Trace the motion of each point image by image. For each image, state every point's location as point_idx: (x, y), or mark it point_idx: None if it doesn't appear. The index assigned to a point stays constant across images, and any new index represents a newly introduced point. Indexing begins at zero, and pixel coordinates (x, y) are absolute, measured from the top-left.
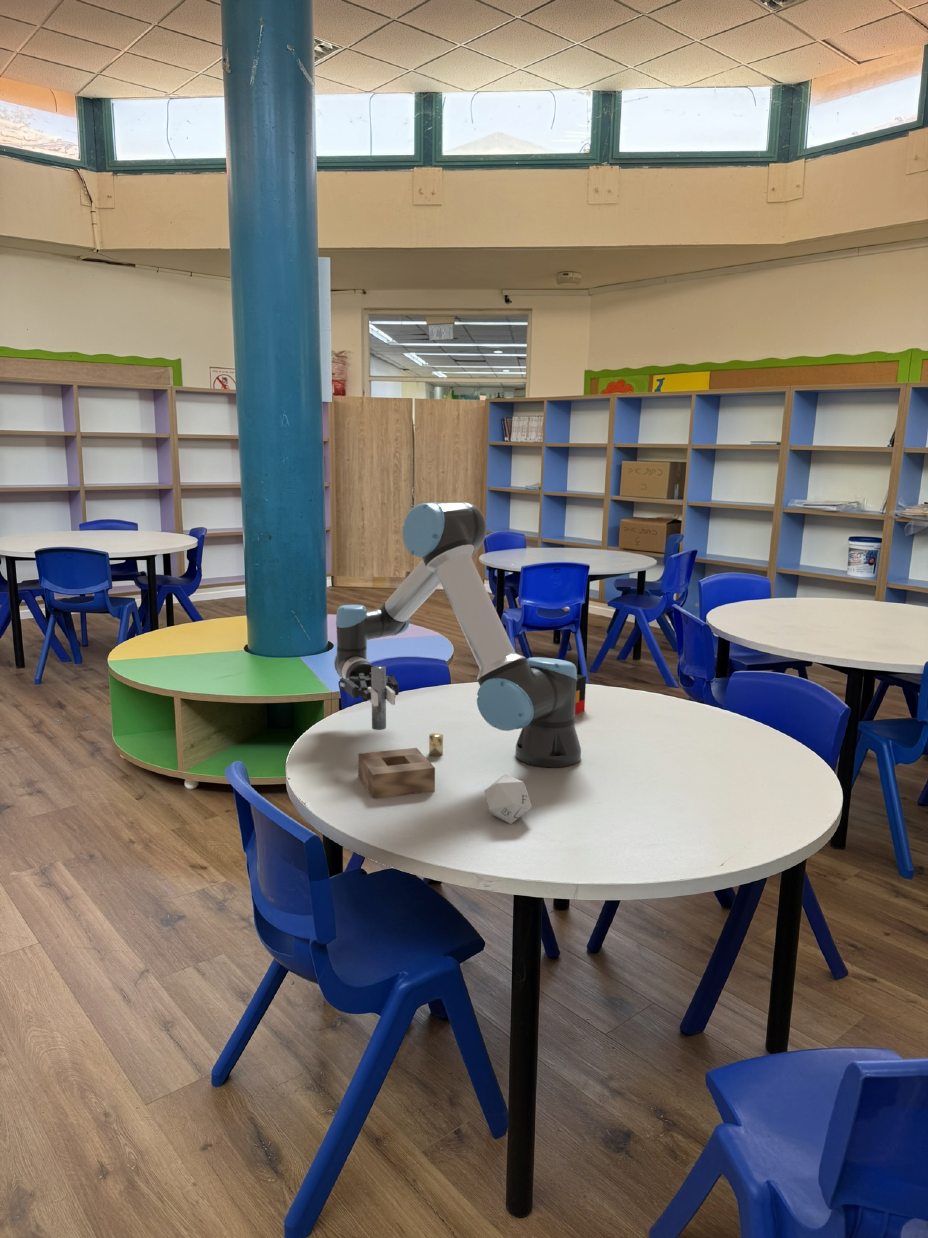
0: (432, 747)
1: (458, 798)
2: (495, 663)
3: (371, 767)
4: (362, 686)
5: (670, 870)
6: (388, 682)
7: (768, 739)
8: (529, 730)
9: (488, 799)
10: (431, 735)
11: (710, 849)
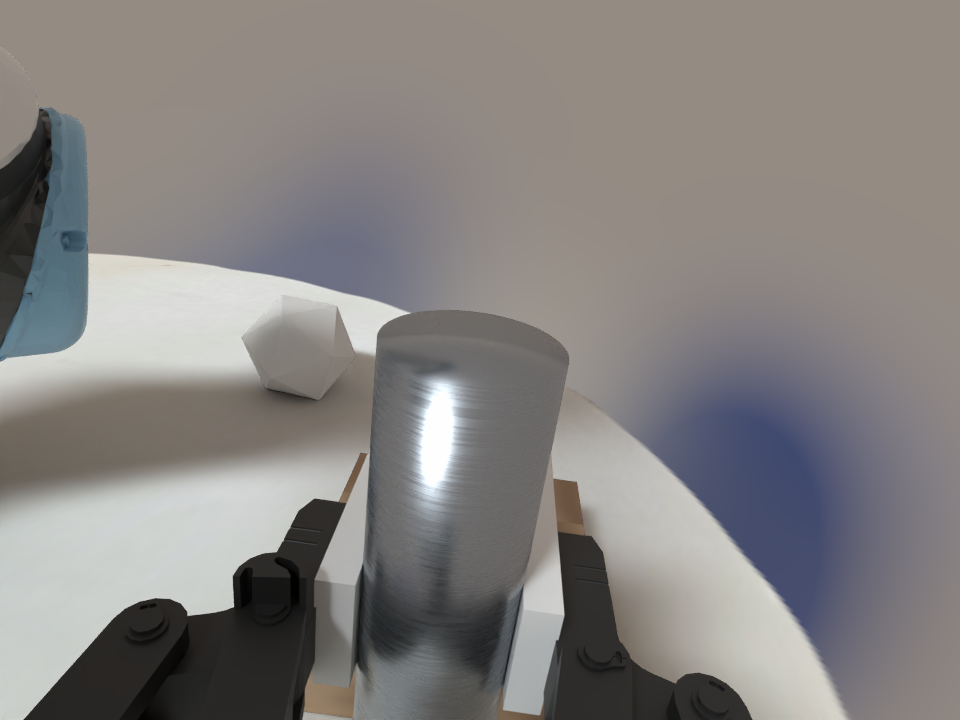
0: None
1: (326, 469)
2: None
3: (570, 523)
4: (619, 700)
5: (235, 277)
6: (286, 570)
7: None
8: None
9: (345, 351)
10: None
11: (129, 274)
